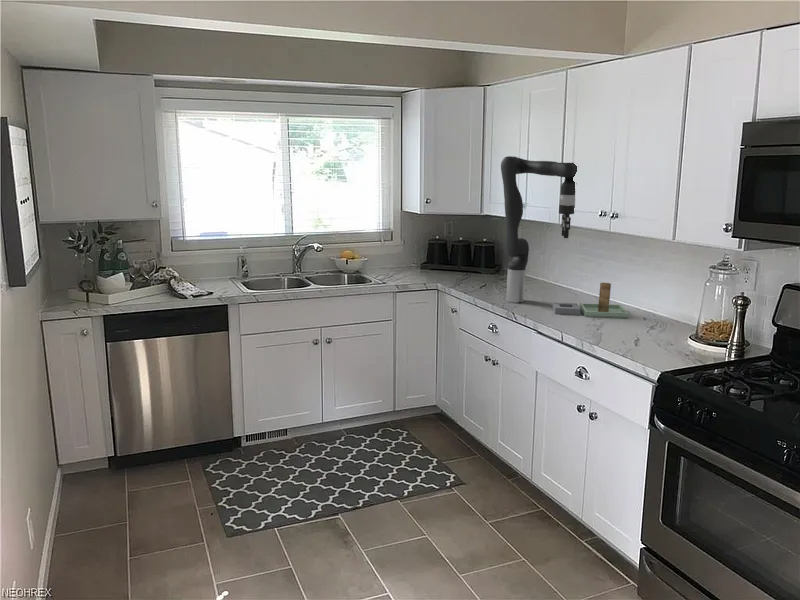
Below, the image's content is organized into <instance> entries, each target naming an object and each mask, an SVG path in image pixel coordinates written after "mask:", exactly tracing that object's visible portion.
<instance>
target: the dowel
mask: <svg viewBox="0 0 800 600" xmlns="http://www.w3.org/2000/svg"><path fill="white" fill-rule="evenodd" d="M611 288H612V283H610V282H600V284H599V294H598V295H599V296H598V304H599V305H598V312H609V304H610V302H611V301H610V300H611V291H612V290H611Z"/></svg>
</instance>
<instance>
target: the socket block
mask: <svg viewBox="0 0 800 600" xmlns="http://www.w3.org/2000/svg"><path fill="white" fill-rule="evenodd" d="M551 308H552V311H553V313H554V315H571V316H572V315H573V316H574V315H575V316H576V315H577V316H580V315H581V309H580V305H579V304H578V303H575V302H573V303H572V302H552V307H551Z"/></svg>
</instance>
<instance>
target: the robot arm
mask: <svg viewBox="0 0 800 600" xmlns="http://www.w3.org/2000/svg"><path fill="white" fill-rule="evenodd" d="M574 163H575V162H559V161H549V160H529V159H528V160H527V159H524V158H521V157H518V156H511V155H508V156H505V157H503V159H502V160H501V163H500V171H501V179H502V184H503V199H504V213H505V251H506V254H507V255H508V256H509V257H511V258H513V259H512V260H511V261H510V262H509V263H508V264H507V277H506V296H505V297H506V298H505V300H506V302H508V303H514V304H515V303H516V304H517V303H519V302H521V303H524V302H523V301H525V288H526V287H525V285H526V268H527V265H528V262H529V251H530V245H529V242H528V241H527V239H525V238H522V237H521V238H519V233H518V232H519V226H520V223H521V220H522V217H523V215H524V206H523V205H524V203H523V198H522V194H521V192H520V190H519V187H518V184H517V175H520V174H535V175H539V176H549V177H561V178H564V181H563V182H562V183H561V186H560V195H559V196H560V197H559V204H558V205H559V206H558V214H560V215H561V222H560V224H561V225H560V227H561V236H562V237H563V239H569V236H570V230H571V221H572V218H571V216H570V215H574V214H575V212H574V208H575V207H576V191H575V190H576V189H575V182H574V181H573V177H574V176H575V174H576V172H577V166H576V165H575V164H574ZM575 209H576V208H575ZM519 304H520V303H519Z"/></svg>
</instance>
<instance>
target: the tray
mask: <svg viewBox="0 0 800 600" xmlns="http://www.w3.org/2000/svg"><path fill="white" fill-rule="evenodd" d="M598 305H599V303H587V302H586V303H583V302H580V303H579V307H580V309H581V310H580V312H582V314H583V315H584V317H586V318H606V319H607V318H610V319H629V312H628V311H627V310H626V309H625V308H624V306H623V305H621V304H610V303H609V312H598Z"/></svg>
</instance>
